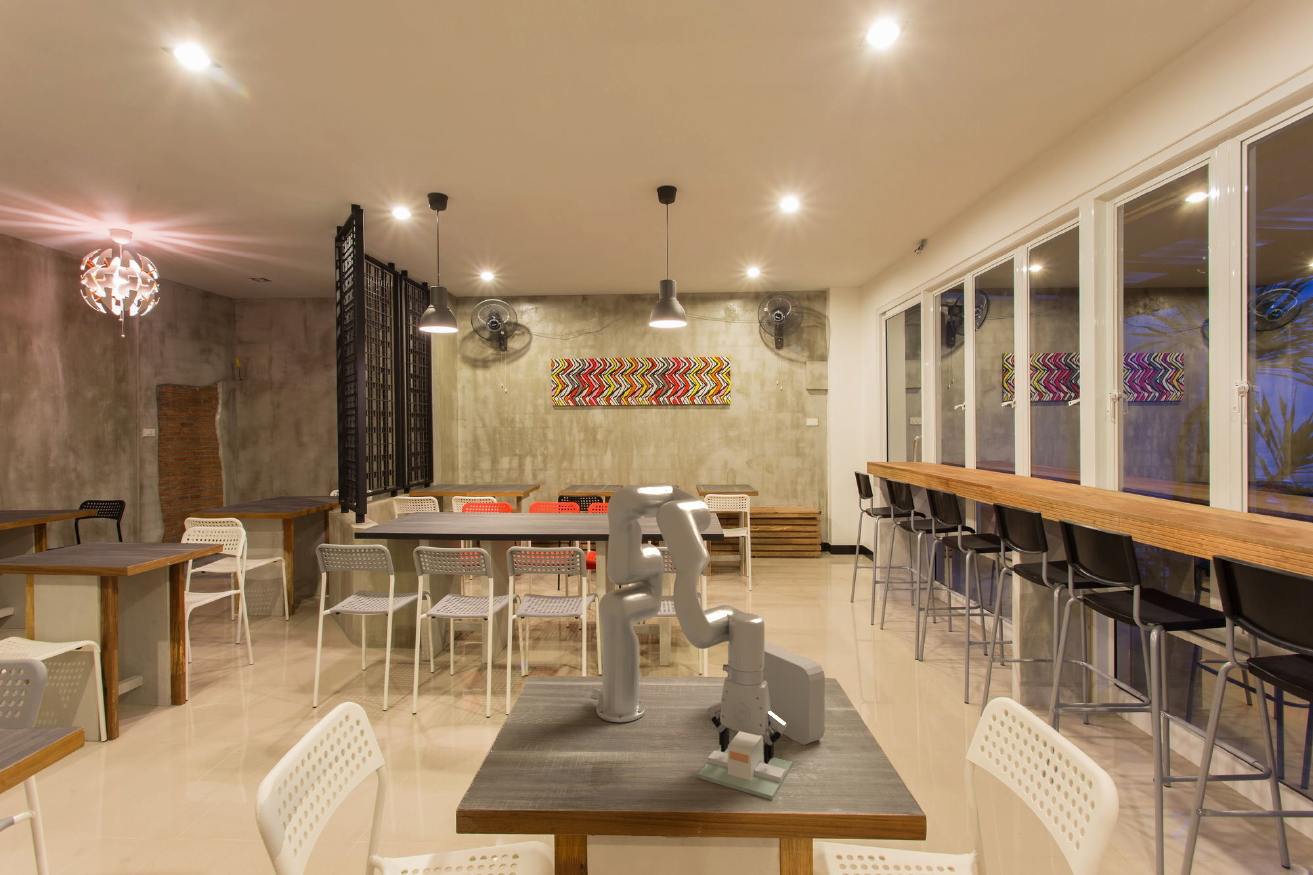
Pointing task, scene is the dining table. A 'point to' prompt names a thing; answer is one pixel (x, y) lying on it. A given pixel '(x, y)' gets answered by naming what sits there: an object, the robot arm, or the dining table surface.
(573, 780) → the dining table surface
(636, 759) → the dining table surface
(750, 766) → the block
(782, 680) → the grey rounded block
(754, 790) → the rail board
